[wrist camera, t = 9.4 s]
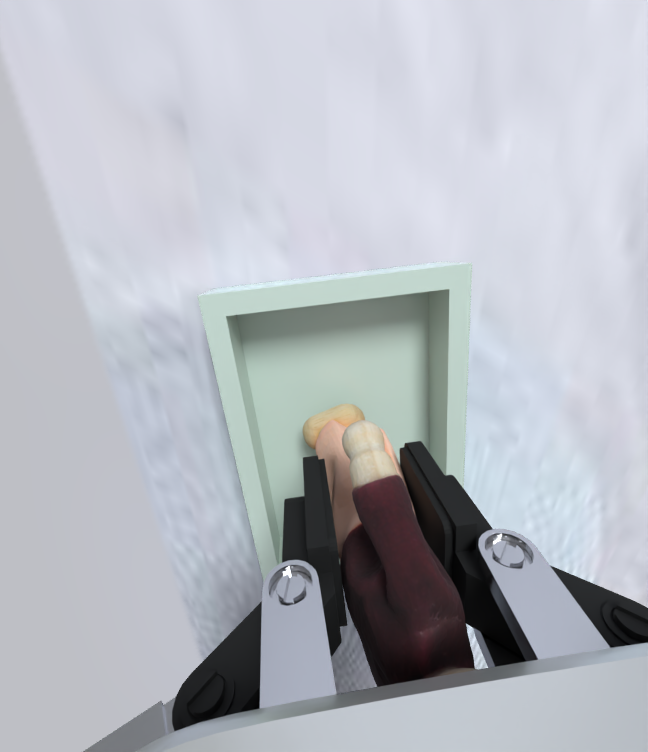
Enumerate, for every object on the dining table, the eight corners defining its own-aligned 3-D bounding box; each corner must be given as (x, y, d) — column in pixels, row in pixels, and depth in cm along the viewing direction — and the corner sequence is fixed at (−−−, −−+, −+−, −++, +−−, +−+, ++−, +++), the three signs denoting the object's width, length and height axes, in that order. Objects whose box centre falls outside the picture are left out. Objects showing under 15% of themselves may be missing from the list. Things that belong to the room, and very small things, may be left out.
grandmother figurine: (398, 491, 16) (753, 1089, 5) (323, 520, 16) (493, 1228, 4) (355, 344, 14) (966, 899, 2) (263, 377, 13) (290, 1253, 2)
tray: (439, 516, 19) (460, 555, 17) (268, 542, 19) (264, 585, 16) (441, 261, 14) (472, 263, 12) (214, 288, 14) (197, 295, 12)
